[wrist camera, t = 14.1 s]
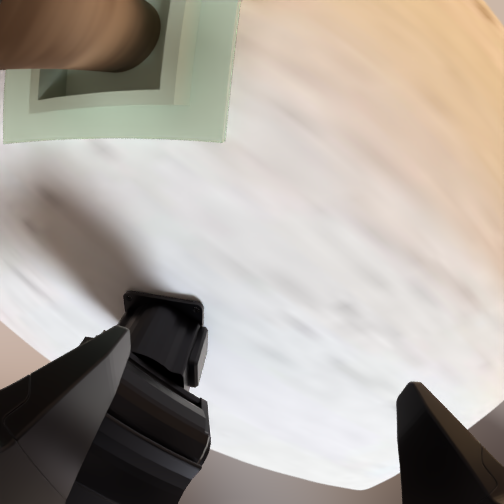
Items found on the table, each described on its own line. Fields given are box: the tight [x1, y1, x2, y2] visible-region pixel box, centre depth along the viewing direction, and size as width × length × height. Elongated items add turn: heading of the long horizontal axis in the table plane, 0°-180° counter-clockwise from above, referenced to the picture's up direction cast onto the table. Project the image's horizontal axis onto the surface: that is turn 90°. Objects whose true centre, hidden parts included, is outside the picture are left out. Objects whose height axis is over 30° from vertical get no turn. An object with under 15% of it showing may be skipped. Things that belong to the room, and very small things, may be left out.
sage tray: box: [3, 0, 241, 144], centre depth 14 cm, size 18×14×4 cm
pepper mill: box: [0, 0, 161, 73], centre depth 9 cm, size 5×5×13 cm
